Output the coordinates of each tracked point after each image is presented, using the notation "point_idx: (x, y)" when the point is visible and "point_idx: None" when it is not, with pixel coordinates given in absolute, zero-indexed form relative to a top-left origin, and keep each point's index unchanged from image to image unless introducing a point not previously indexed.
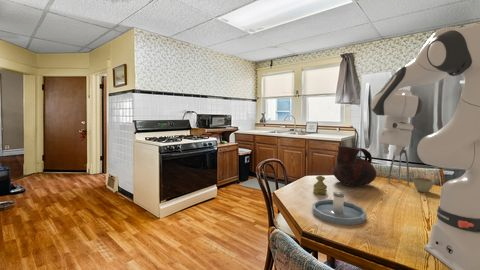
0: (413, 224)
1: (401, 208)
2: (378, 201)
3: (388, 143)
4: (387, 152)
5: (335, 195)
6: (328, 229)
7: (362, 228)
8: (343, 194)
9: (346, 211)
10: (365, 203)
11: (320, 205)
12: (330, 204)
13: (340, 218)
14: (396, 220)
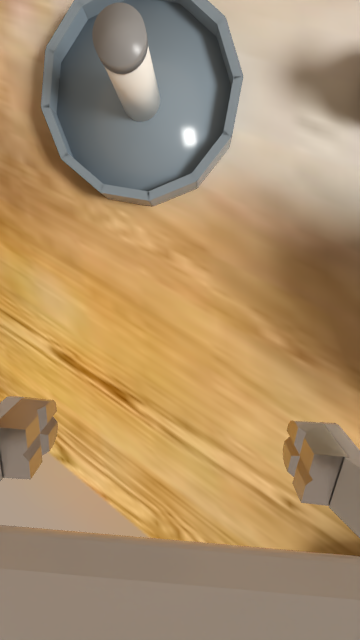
0: (83, 331)
1: (206, 373)
2: (275, 329)
3: (168, 558)
4: (295, 460)
5: (105, 16)
6: (13, 26)
7: (36, 153)
8: (104, 56)
9: (144, 137)
10: (252, 265)
11: (200, 37)
12: (214, 91)
13: (44, 68)
14: (106, 296)
